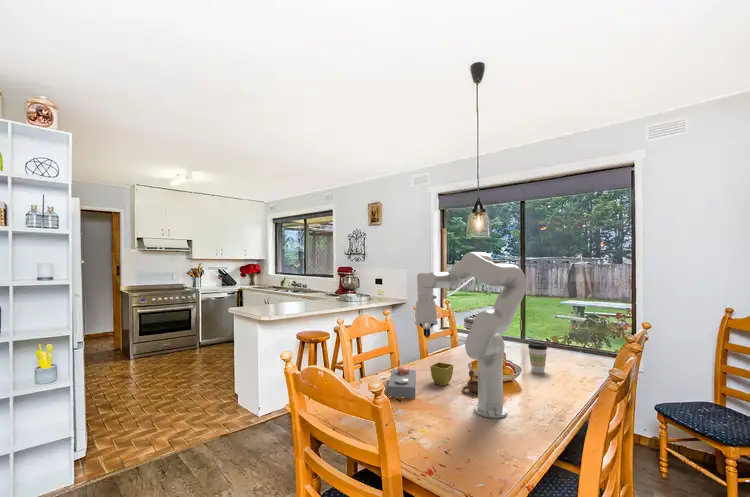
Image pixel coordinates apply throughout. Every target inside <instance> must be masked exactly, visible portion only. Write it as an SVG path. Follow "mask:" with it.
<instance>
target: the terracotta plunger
mask: <svg viewBox="0 0 750 497" xmlns="http://www.w3.org/2000/svg"><path fill="white" fill-rule="evenodd" d="M396 369H397V371H398V372H399V375H407V372H409V370H410V366H405V365H404V366H403V365H402V366H398V367H397V368H396Z"/></svg>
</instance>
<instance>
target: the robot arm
mask: <svg viewBox="0 0 750 497" xmlns="http://www.w3.org/2000/svg"><path fill="white" fill-rule="evenodd" d="M471 278H475V279H476V280H478V281H480V282H482V283H484V284H486V285H488V286H490V287H503V288H502V290H501V291H500V292H499V294H498V295H497V297H496V299H495V302H494V304H493V306H492V308H490V309H486V310H483V311H481V312H479V313H477V315H476V316H475V318H474V319H473V321H472V324H471V326H470V329H469V332H468V334H467V337H466V339H465V342H464V343H465V345H464V349H465V352H466V354H467V356H468V357H469V358H471V359H473V360H477V381H478V397H477V404H475V405H474V406H473V410H474V412H475V413H476V414H478V415H479V416H482V417H485V418H489V419H502V418H504V417H506V416H507V415H508V409H507V408H506V407H504V394H503V393H504V390H503V389H504V387H503V386H504V385H503V377H504V376H503V365H504V364H503V362H504V354H505V340H504V338H503V337H502V335H500V334H505V333H506V332H508V331H509V330H510V329H511V326H512V323H513V322H514V319H515V317H516V314H517V312H518V310H519V307H520V305H521V302H522V300H523V299H524V296H525V294H526V291H527V285H528V284H527V283H528V281H527V278H526V275H525V273H524V271H523V270H522V269H521V268H520V267H518V266H517V265H514V264H511V263H507V264H506V263H494V259H493V256H491V255H490V254H489V253H487V252H482V251H471V252H467V253H465V254H464V255H463V256H462V257H461V259H460V260H458V261H456V262H455V263H454V265H453V269H450V270H447V271H432V272H420V273H417V275H416V285H417V286H416V287H417V288H416V289H417V291H416V292H417V301H415V325H416V326H420V328H422V329H423V336H424V338H425V339H429V338H430V336H431V329H432V327H433V326H437V325H438V324H439V322H438V313H437V303H436V301H435V300H436V299H437V295H435V294H434V289H445V288H446V289H447V288H451V287H453V286H456V285H459V284H462V283H463V282H464V281H466V280H468V279H471ZM425 323H426V324H427V327H426V324H425Z"/></svg>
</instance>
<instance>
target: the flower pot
mask: <svg viewBox="0 0 750 497" xmlns="http://www.w3.org/2000/svg"><path fill="white" fill-rule="evenodd" d="M429 367H430V374H431V378H432V381H433V383H434V384H435V383H436V385H439V384H441V385H440V386H443V385H445V386H446V385H448V384H450V382H451V380H452V377H453V373H454V364H450V363H444V362H439V361H438V362H436V363H434V364H431V365H430V366H429Z"/></svg>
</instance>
